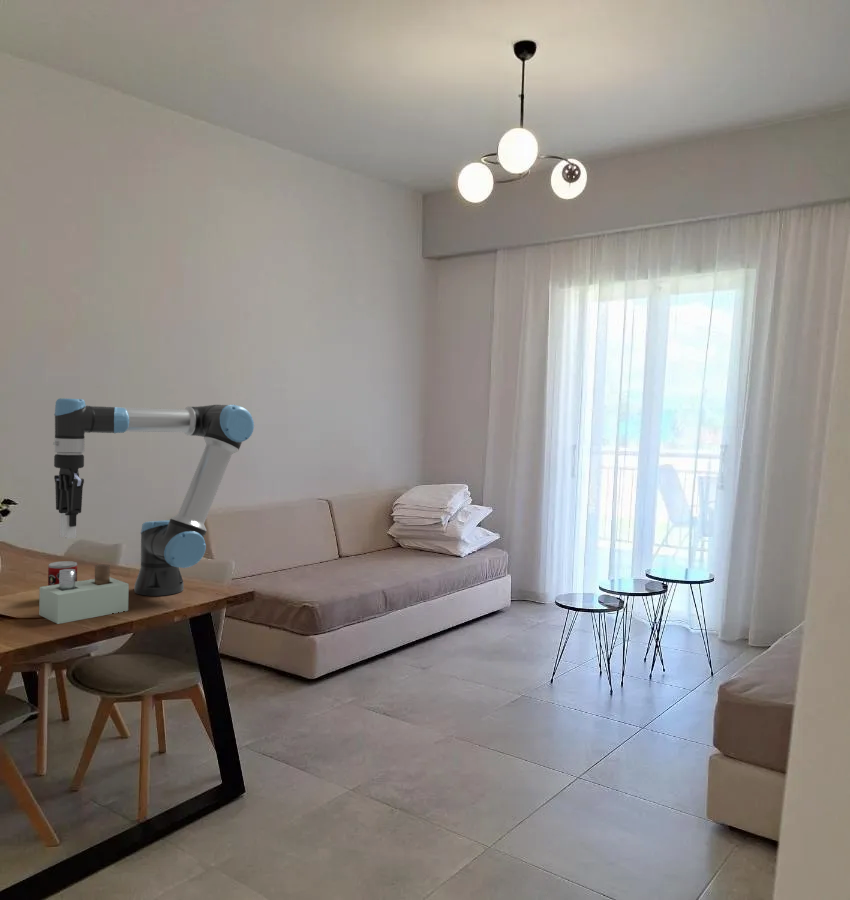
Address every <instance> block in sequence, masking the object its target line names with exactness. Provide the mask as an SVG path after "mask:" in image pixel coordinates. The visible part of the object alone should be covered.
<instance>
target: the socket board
mask: <svg viewBox="0 0 850 900" xmlns="http://www.w3.org/2000/svg"><path fill="white" fill-rule="evenodd" d="M129 591H130V590H129V583H127V582H125V581H122V580H119V579H116V578H113V577H111V576H110V583H109V584H104V585H95V578H92V579H91V578H90V579H85V580H77V582H75V589H72V590H65V591H61V590H59V584H56V585H49V586H48V585H43V586H39V599H38V601H39V603H38V606H39V608H38V609H39V611H38V615H39V616H41V617H42V618H45V619H46V620H49V621H51V622H53V623H55V624H57V625H59V624H65V623H70V622H75V621H76V622H77V621H82V620H86V619H92V618H96V617H98V618H99V617H102V616H107V615H112V613H114V614H118V612H119V613H124V612H123V611H125V612H128V611H129Z"/></svg>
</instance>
